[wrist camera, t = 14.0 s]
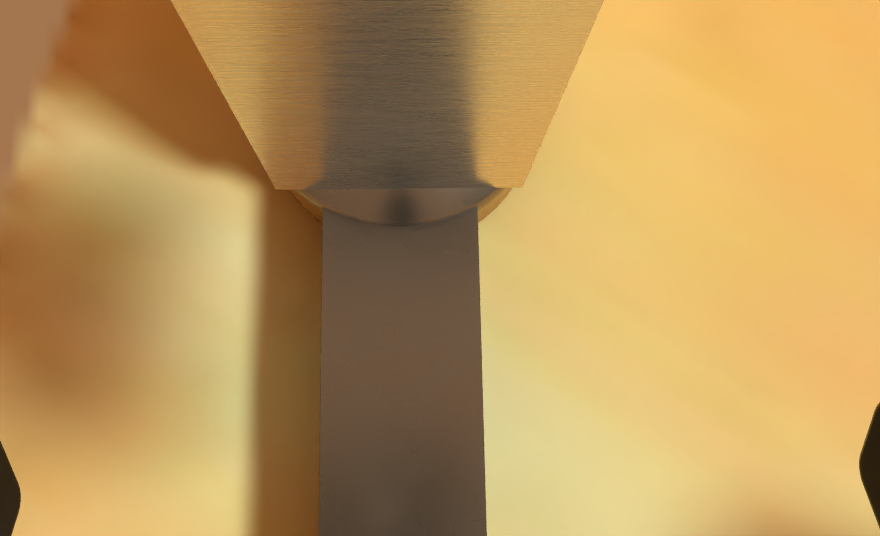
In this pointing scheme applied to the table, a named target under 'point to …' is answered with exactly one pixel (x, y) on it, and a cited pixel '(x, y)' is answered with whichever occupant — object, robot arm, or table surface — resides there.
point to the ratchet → (401, 361)
